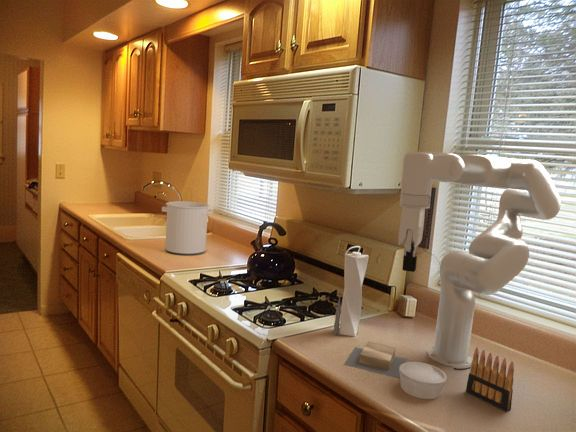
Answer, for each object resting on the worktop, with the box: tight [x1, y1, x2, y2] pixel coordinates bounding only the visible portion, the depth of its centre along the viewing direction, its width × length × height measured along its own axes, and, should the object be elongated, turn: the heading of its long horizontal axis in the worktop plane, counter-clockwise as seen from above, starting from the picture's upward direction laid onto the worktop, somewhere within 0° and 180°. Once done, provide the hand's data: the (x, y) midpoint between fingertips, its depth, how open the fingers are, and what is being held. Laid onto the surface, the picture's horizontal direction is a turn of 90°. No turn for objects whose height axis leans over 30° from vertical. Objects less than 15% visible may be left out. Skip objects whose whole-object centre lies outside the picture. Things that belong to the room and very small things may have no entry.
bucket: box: [161, 200, 214, 256], centre depth 243 cm, size 26×22×24 cm
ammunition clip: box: [465, 346, 515, 413], centre depth 114 cm, size 11×2×12 cm, turn 39°
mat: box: [343, 346, 408, 379], centre depth 131 cm, size 13×15×1 cm
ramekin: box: [399, 361, 448, 400], centre depth 117 cm, size 11×11×5 cm
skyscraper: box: [333, 245, 370, 338], centre depth 148 cm, size 8×8×28 cm
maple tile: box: [359, 341, 397, 370], centre depth 132 cm, size 2×8×10 cm
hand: (409, 270), depth 124 cm, fingers closed
